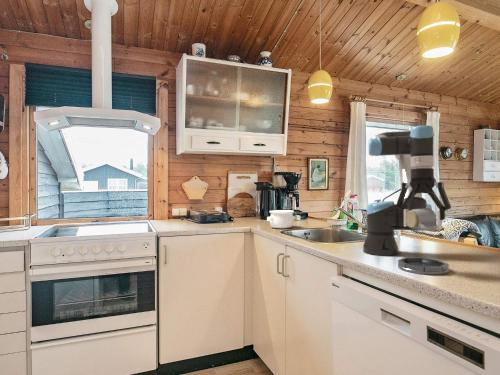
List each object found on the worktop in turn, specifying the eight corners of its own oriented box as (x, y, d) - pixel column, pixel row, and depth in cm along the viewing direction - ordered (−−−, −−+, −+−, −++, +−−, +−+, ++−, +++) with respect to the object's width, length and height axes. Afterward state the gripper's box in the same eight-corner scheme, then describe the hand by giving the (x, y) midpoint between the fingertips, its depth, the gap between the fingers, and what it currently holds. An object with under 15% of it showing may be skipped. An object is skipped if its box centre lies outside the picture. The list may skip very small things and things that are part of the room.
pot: (273, 230, 223) (272, 212, 223) (262, 227, 239) (262, 210, 239) (301, 228, 231) (300, 211, 231) (289, 225, 247) (289, 209, 247)
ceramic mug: (403, 227, 123) (403, 207, 123) (422, 226, 125) (422, 206, 125) (423, 232, 113) (424, 210, 113) (443, 231, 115) (444, 209, 114)
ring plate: (390, 268, 121) (390, 262, 121) (408, 261, 132) (408, 255, 132) (439, 278, 108) (439, 270, 108) (454, 268, 120) (454, 261, 120)
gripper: (386, 169, 126) (386, 225, 126) (455, 166, 109) (455, 231, 109) (394, 169, 131) (394, 223, 131) (461, 166, 114) (461, 229, 114)
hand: (422, 227), depth 120 cm, fingers closed on ceramic mug, 11 cm apart
